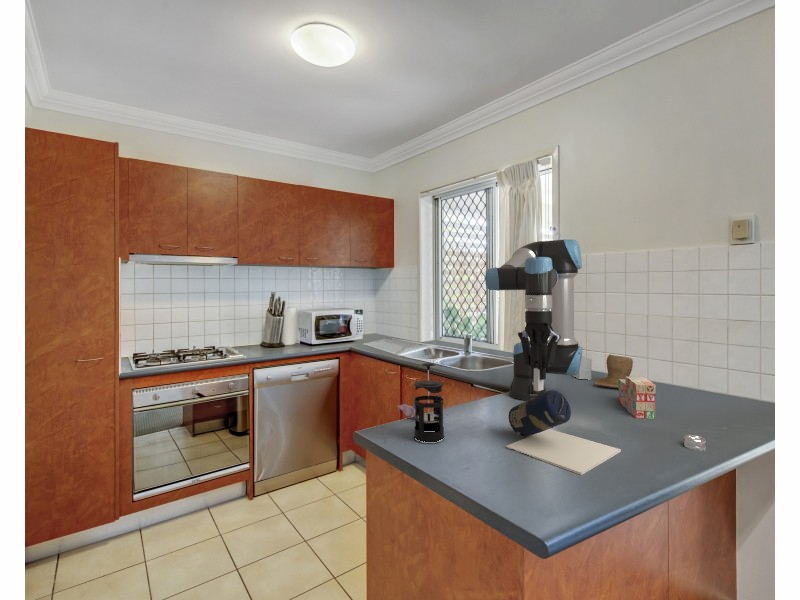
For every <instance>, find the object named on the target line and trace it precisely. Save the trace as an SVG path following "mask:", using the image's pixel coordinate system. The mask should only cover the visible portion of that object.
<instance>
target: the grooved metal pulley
mask: <svg viewBox="0 0 800 600" xmlns="http://www.w3.org/2000/svg"><path fill="white" fill-rule="evenodd" d="M683 439H684V441H683V446H684V447H685V448H686V447H687V448H686V449H688V448H690V449H689V450H691V449H694V450H693V451H696V450H699V451H698V452H703V450H704V451H706V449H707V448H706V447H707V446H706V445H705V444H707V441H706V439H705V438H704V437H703V436H700V435H695V434H685V435H684V437H683Z"/></svg>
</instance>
